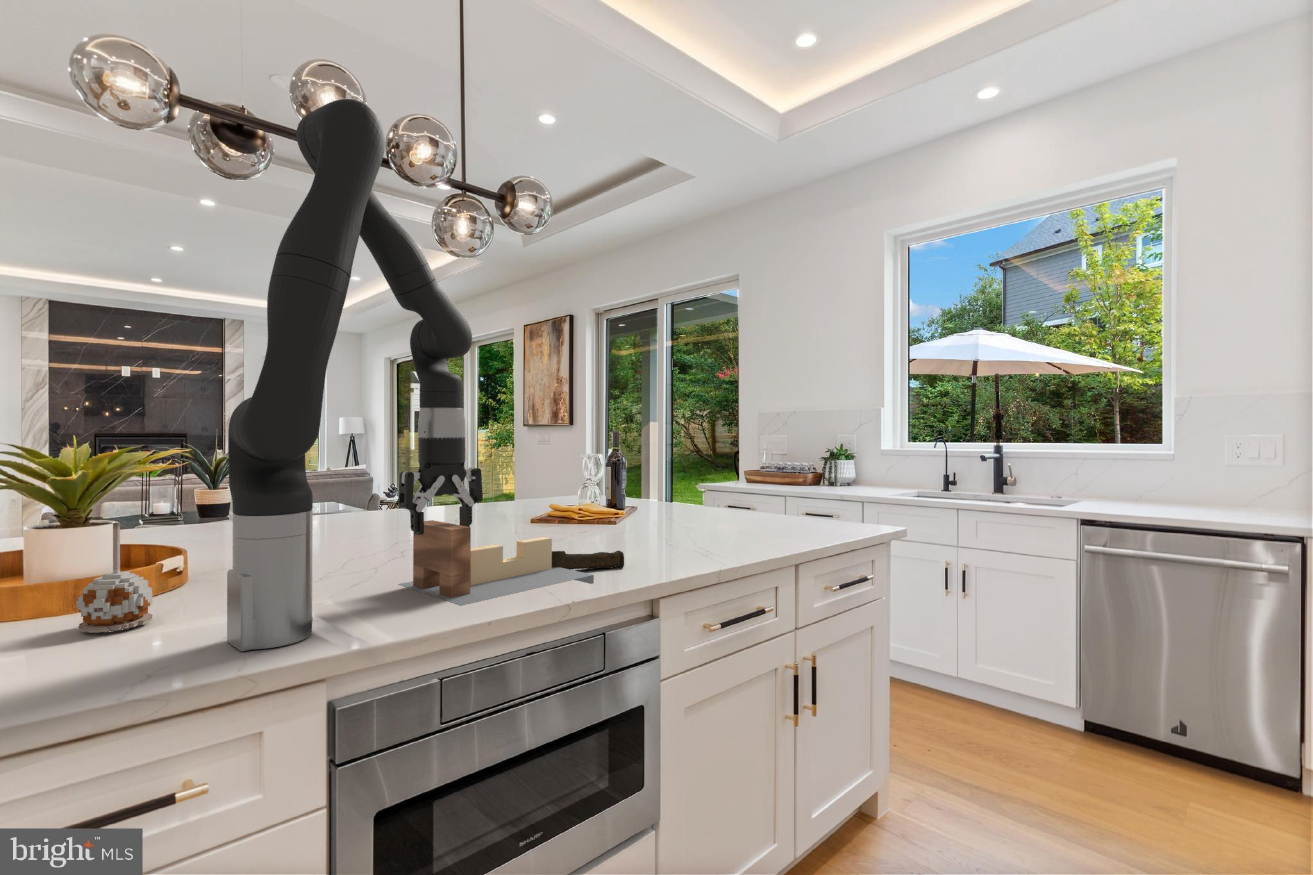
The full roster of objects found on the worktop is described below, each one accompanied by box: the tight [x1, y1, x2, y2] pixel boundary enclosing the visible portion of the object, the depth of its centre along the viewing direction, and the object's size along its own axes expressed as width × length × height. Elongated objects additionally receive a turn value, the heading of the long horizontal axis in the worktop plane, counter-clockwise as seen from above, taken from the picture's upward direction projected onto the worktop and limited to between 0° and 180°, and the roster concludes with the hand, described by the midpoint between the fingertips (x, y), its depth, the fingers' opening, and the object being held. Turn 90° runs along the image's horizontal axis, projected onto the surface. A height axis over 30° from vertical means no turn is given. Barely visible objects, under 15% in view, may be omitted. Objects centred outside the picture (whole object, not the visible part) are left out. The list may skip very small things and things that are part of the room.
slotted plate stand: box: [398, 536, 595, 606], centre depth 113 cm, size 28×20×8 cm
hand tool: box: [552, 550, 625, 570], centre depth 128 cm, size 19×4×5 cm, turn 117°
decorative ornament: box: [75, 522, 153, 634], centre depth 89 cm, size 8×8×15 cm
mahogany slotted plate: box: [412, 519, 472, 598], centre depth 105 cm, size 4×12×11 cm, turn 49°
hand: (442, 531), depth 105 cm, fingers open, 8 cm apart
